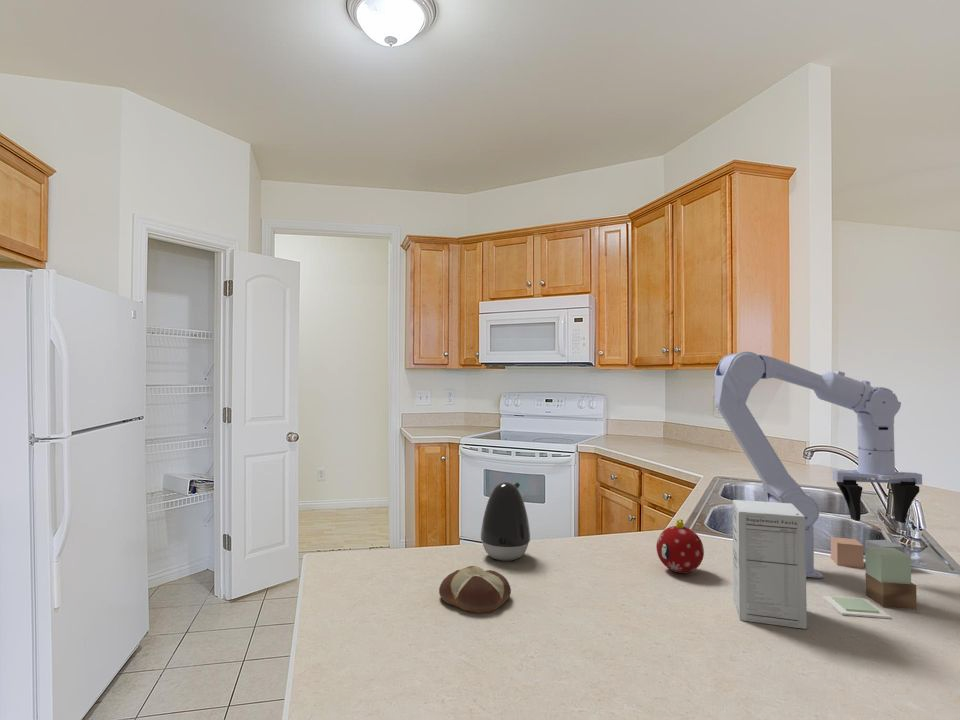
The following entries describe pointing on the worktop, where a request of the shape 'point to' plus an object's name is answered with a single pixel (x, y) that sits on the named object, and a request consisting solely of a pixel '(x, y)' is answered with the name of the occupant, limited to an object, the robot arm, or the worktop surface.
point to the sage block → (888, 565)
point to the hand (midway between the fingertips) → (877, 520)
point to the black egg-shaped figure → (505, 523)
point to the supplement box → (769, 563)
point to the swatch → (855, 607)
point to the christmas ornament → (680, 548)
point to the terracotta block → (847, 552)
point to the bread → (475, 589)
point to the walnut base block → (891, 594)
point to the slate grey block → (882, 545)
